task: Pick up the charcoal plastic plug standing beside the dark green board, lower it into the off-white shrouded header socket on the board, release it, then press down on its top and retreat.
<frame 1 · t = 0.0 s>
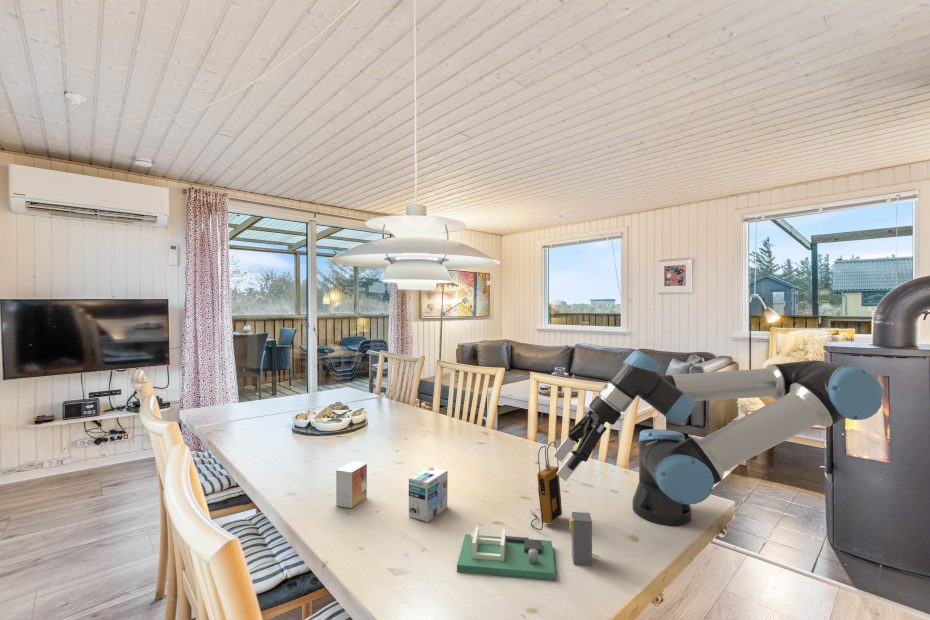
hand: (558, 467, 114), 16 cm above the table, tool tilted 35°, fingers open, 13 cm apart
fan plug: (581, 560, 100), on the table
light bulb box: (428, 512, 123), on the table
multimeter: (540, 517, 120), on the table, touching gripper
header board: (506, 558, 100), on the table
small box: (351, 502, 130), on the table
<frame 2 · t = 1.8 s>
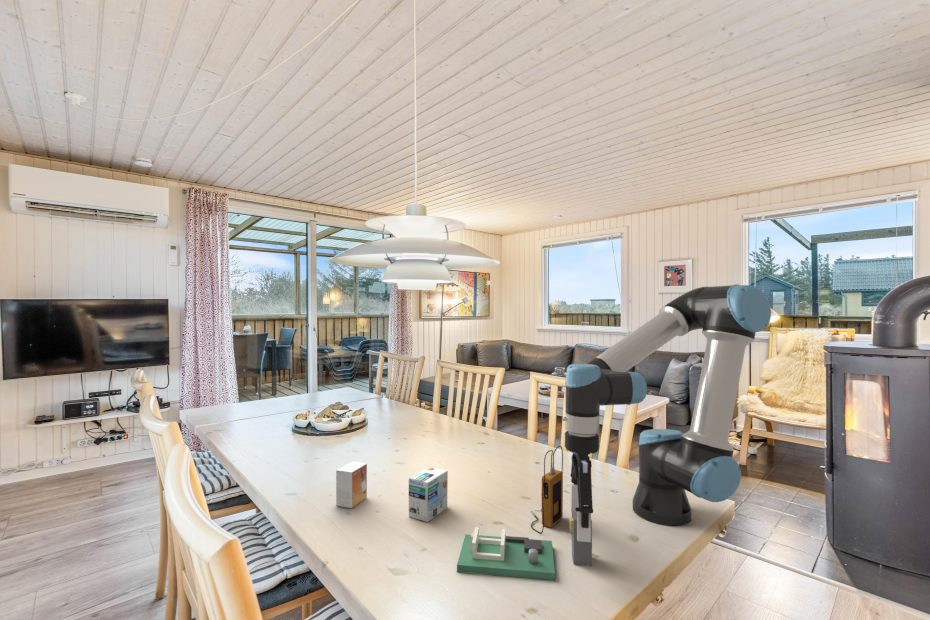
hand: (580, 525, 100), 8 cm above the table, tool pointing down, fingers open, 13 cm apart
multimeter: (540, 519, 120), on the table
everything else where it was.
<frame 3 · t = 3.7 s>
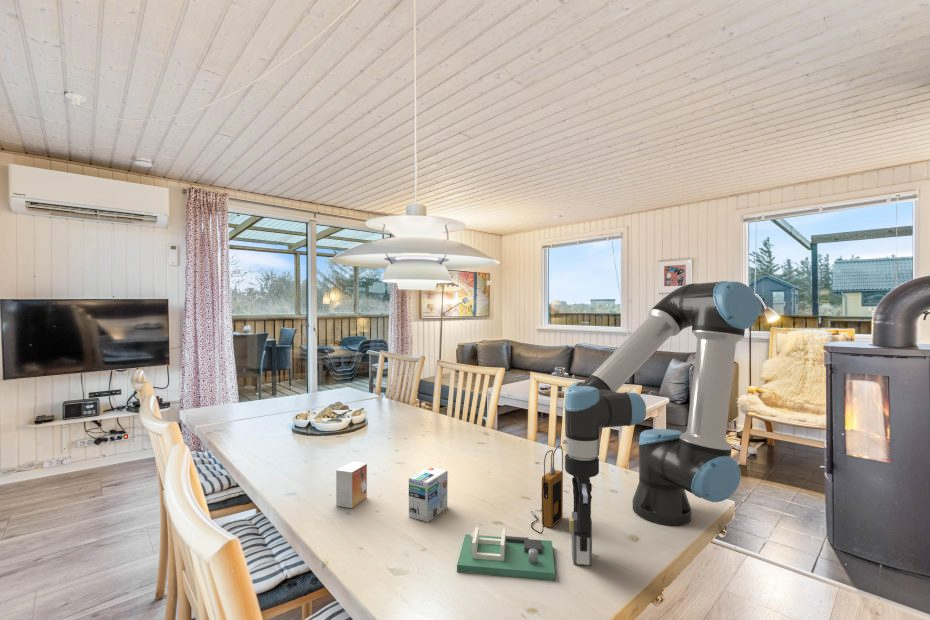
hand: (581, 557, 100), 1 cm above the table, tool pointing down, fingers closed on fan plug, 4 cm apart
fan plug: (581, 560, 100), on the table, touching gripper
everything else where it was.
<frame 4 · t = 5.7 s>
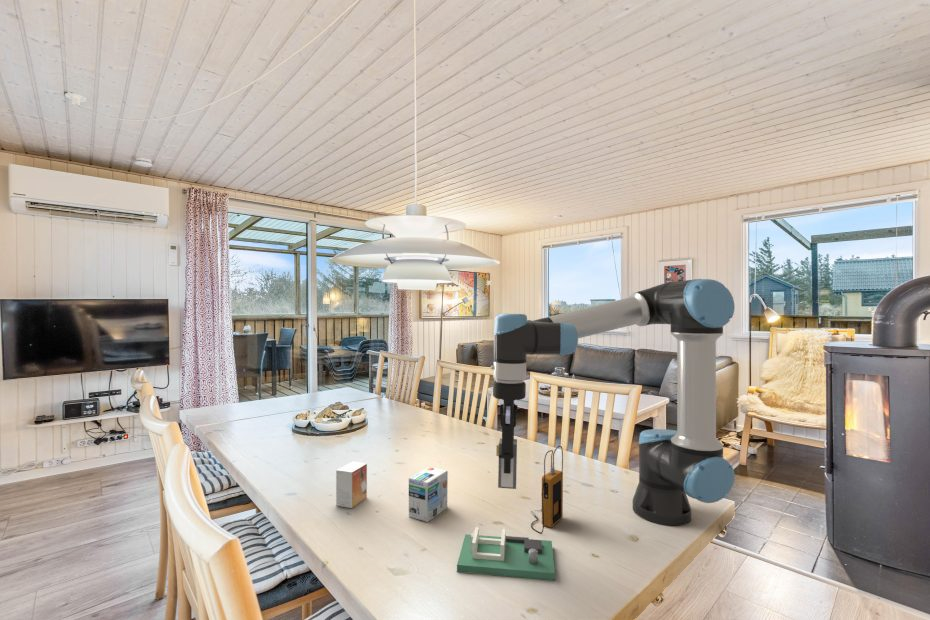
hand: (507, 482, 100), 18 cm above the table, tool pointing down, fingers closed on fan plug, 4 cm apart
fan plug: (507, 484, 100), point 17 cm above the table, touching gripper
everything else where it was.
when the fingers open (4 cm above the table, at t = 8.0 s): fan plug drops 2 cm, resting on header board.
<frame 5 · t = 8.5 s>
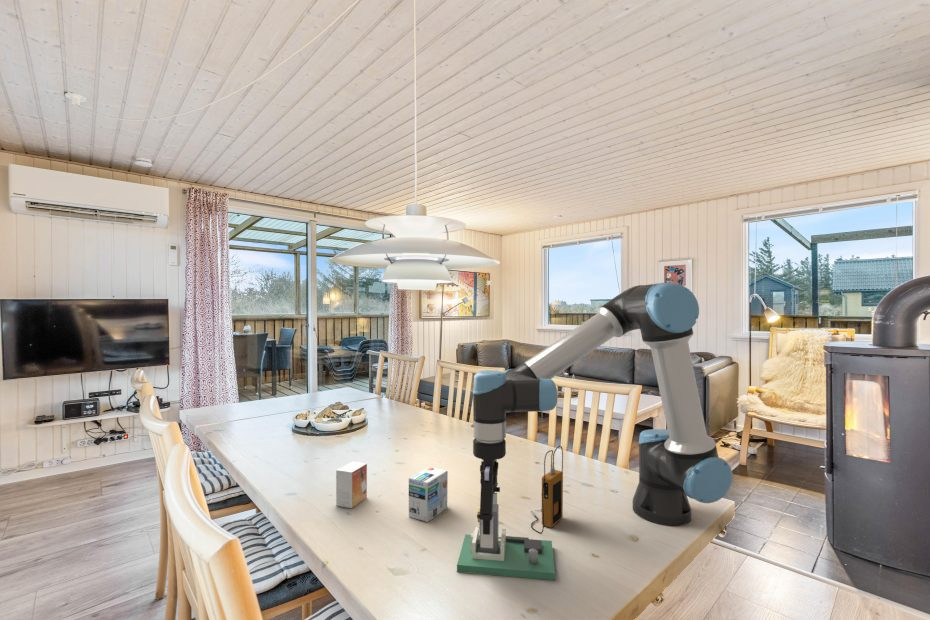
hand: (489, 532, 101), 6 cm above the table, tool pointing down, fingers open, 11 cm apart
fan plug: (489, 550, 101), point 1 cm above the table, touching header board
everything else where it was.
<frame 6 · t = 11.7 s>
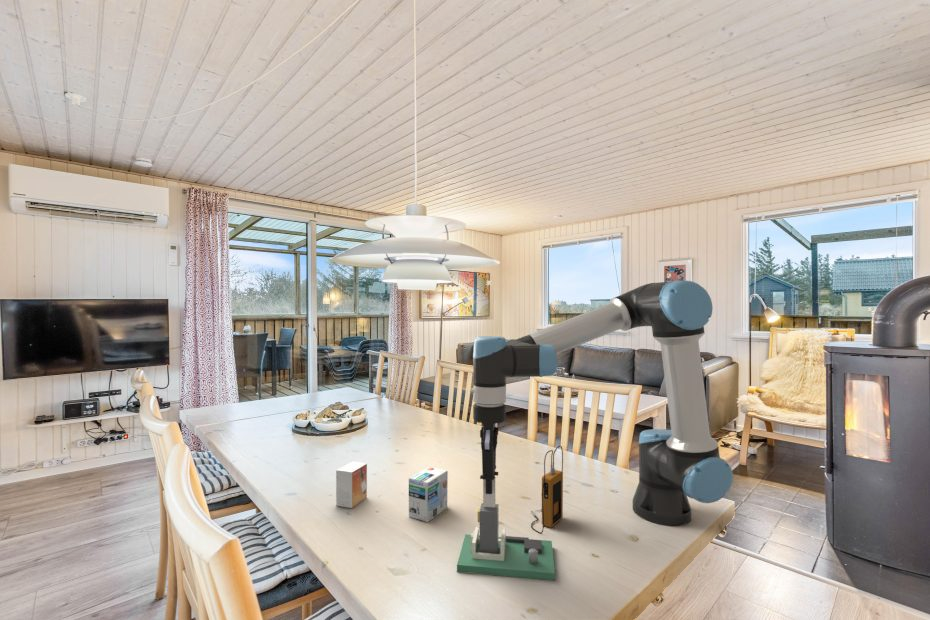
hand: (489, 505, 101), 12 cm above the table, tool pointing down, fingers closed
nothing on the table moved.
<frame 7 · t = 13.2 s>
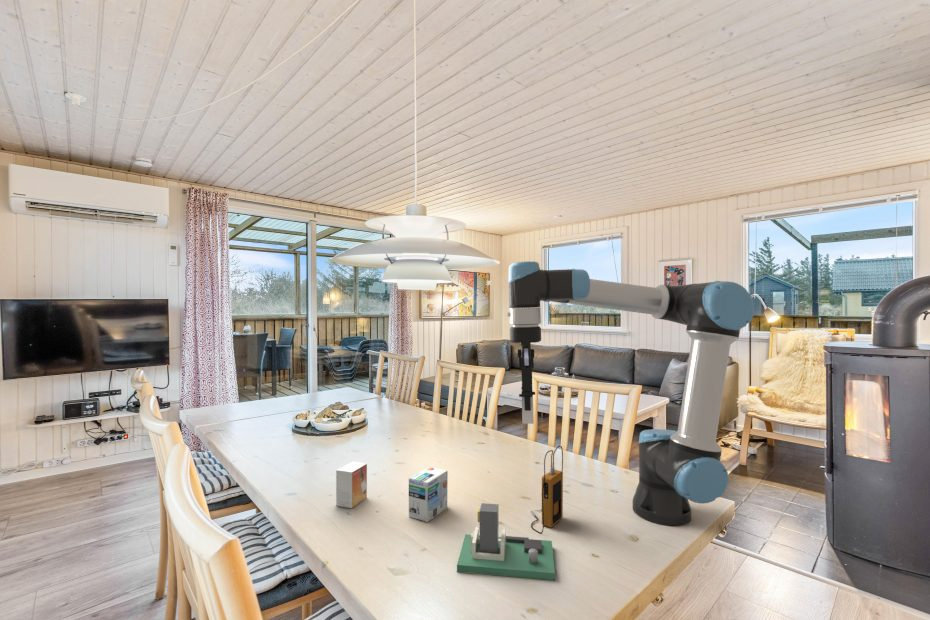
hand: (528, 422, 106), 30 cm above the table, tool pointing down, fingers closed
nothing on the table moved.
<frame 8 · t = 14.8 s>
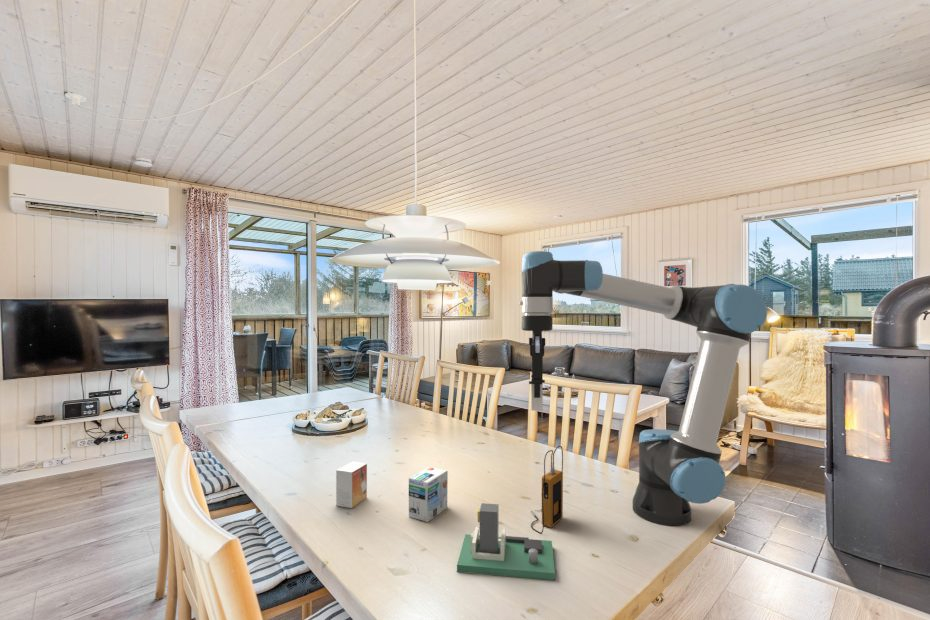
hand: (536, 409, 108), 32 cm above the table, tool pointing down, fingers closed
nothing on the table moved.
at the end: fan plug 0.0 cm from the target spot on the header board, point 1.5 cm above the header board's base; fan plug tilted 0°; the gripper is holding nothing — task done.
